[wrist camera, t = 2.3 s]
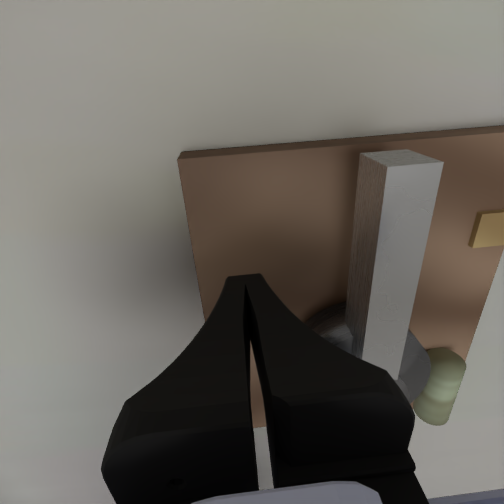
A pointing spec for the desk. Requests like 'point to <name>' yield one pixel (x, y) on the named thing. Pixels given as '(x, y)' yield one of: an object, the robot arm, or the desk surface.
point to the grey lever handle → (386, 266)
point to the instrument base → (350, 236)
